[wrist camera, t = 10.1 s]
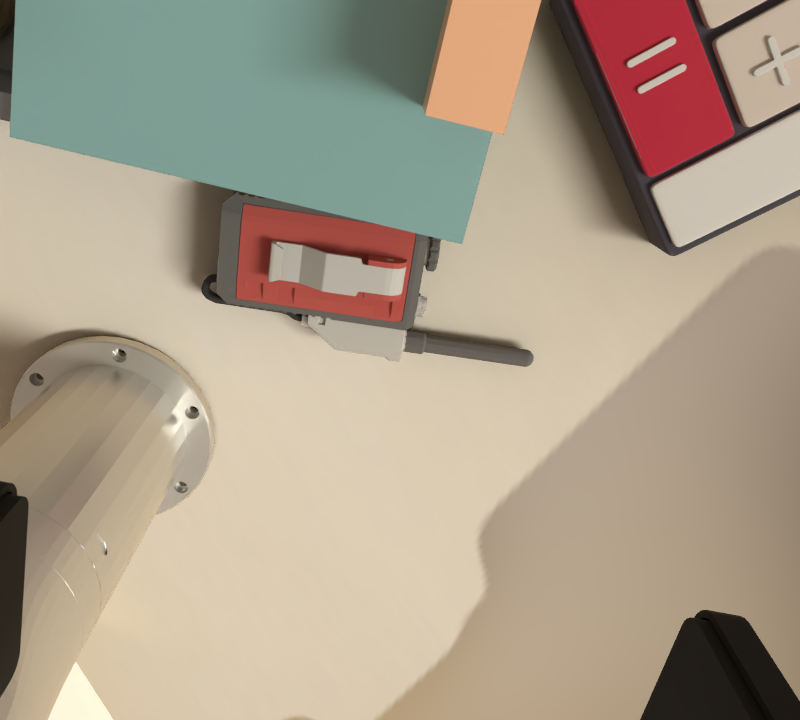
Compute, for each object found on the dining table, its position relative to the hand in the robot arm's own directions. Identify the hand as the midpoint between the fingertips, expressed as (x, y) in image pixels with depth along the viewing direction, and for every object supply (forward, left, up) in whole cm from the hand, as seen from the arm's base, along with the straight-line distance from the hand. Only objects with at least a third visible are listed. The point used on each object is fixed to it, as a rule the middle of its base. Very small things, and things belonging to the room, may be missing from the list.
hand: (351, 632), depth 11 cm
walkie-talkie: (-5, 0, -36) cm, 36 cm away
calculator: (+10, -14, -36) cm, 40 cm away
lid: (+9, +7, -27) cm, 29 cm away
